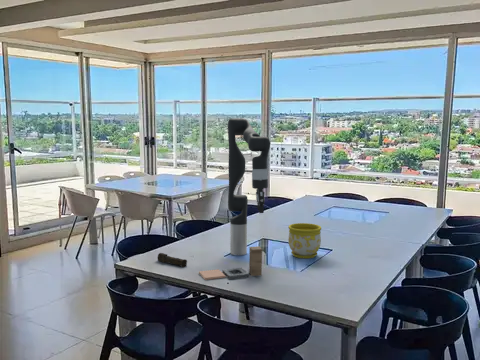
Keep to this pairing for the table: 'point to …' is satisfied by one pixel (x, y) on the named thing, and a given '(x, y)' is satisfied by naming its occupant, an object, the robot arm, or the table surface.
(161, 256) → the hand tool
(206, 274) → the tile
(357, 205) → the table surface
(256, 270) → the walnut block
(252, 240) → the table surface
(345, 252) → the table surface
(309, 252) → the flowerpot
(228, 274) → the hole plate
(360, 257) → the table surface
